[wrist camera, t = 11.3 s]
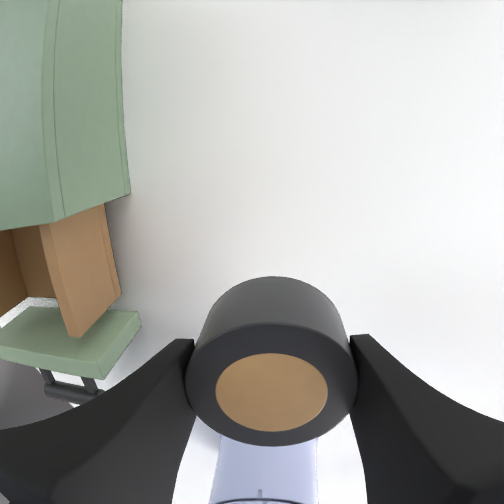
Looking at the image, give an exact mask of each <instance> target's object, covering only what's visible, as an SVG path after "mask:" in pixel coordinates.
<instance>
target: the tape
mask: <svg viewBox="0 0 504 504" xmlns="http://www.w3.org/2000/svg"><path fill="white" fill-rule="evenodd" d="M358 388H359V374H358V371H357V367H356V364H355V361H354V358H353V354H352V351H351V348H350V345H349V342H348V339H347V336H346V333H345V330H344V327H343V324H342V321H341V318H340V315H339V313H338V311H337V309H336V307H335V306H334V304H333V303H332V302H331V300H330V299H329V298H328V297H327V296H326V295H325V294H323V293H322V292H321V291H320V290H318V289H317V288H315V287H313V286H311V285H310V284H307V283H305V282H303V281H300V280H296V279H293V278H287V277H276V276H269V277H260V278H255V279H251V280H248V281H245V282H242V283H240V284H238V285H236V286H234V287H232V288H231V289H229V290H228V291H227V292H225V293H224V294H223V295H222V296H221V297H220V298H219V299H218V300H217V301H216V302H215V304H214V305H213V307H212V308H211V310H210V312H209V314H208V316H207V319H206V321H205V324H204V326H203V329H202V331H201V334H200V336H199V339H198V341H197V343H196V346H195V348H194V351H193V353H192V356H191V358H190V361H189V363H188V366H187V368H186V373H185V391H186V395H187V398H188V401H189V403H190V405H191V407H192V409H193V410H194V412H195V413H196V414H197V416H198V417H199V418H200V419H201V420H202V421H203V422H204V423H205V424H207V425H208V426H209V427H210V428H212V429H213V430H215V431H216V432H218V433H219V434H221V435H223V436H225V437H227V438H230V439H232V440H235V441H238V442H241V443H245V444H250V445H255V446H263V447H281V446H290V445H295V444H300V443H304V442H307V441H310V440H313V439H315V438H317V437H320V436H322V435H323V434H325V433H327V432H329V431H330V430H332V429H333V428H334V427H336V426H337V425H338V424H339V423H340V422H341V421H342V420H343V419H344V418H345V417H346V416H347V415H348V413H349V412H350V410H351V409H352V407H353V405H354V403H355V401H356V398H357V394H358Z"/></svg>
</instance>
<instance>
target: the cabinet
mask: <svg viewBox="0 0 504 504" xmlns="http://www.w3.org/2000/svg"><path fill="white" fill-rule="evenodd" d="M121 20H122V0H0V231H2V230H8V229H14V228H21V227H27V226H34V225H41V224H48V223H55V222H57V221H59V220H62V219H64V218H67V217H69V216H72V215H74V214H77V213H80V212H82V211H85V210H87V209H90V208H92V207H95V206H98V205H100V204H103V203H106V202H109V201H111V200H114V199H117V198H120V197H122V196H125V195H128V194H130V193H131V190H130V182H129V174H128V165H127V155H126V144H125V132H124V119H123V102H122V77H121Z"/></svg>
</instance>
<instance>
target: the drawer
mask: <svg viewBox="0 0 504 504" xmlns="http://www.w3.org/2000/svg"><path fill="white" fill-rule="evenodd" d="M121 294H122V293H121V289H120V285H119V281H118V276H117V272H116V267H115V262H114V257H113V252H112V247H111V242H110V237H109V231H108V225H107V219H106V213H105V207H104V203H103V204H100V205H98V206H95V207H92V208H90V209H87V210H85V211H82V212H80V213H77V214H74V215H72V216H69V217H67V218H64V219H62V220H59V221H57V222H55V223H48V224H41V225H34V226H27V227H21V228H14V229H8V230H2V231H0V317H2V316H3V315H4V314H6V313H7V312H8V311H10V310H11V309H12V308H14V307H15V306H16V305H18V304H19V303H21V302H22V301H23V300H25V299H26V298H27V297H44V298H57V301H58V305H59V308H47V307H32V306H30V307H28V308H27V309H26V310H24V311H23V312H22V313H21V314H19V315H18V316H17V317H15V318H14V319H13V320H12V321H10V322H9V323H8V324H7V325H5V326H4V327H3V328H2V329H0V358H1V359H5V360H8V361H12V362H16V363H20V364H24V365H28V366H32V367H37V368H39V370H40V372H41V374H42V376H43V378H44V380H45V382H46V383H45V386H44V390H45V394H46V395H47V396H48V397H51V398H54V399H58V400H62V401H67V402H70V403H74V404H79V405H82V404H84V403H86V402H88V401H90V400H92V399H93V398H95V397H97V396H99V395H101V394H102V393H104V392H105V391H104V390H102V389H98V388H97V385H96V383H95V381H94V379H100V380H104V379H105V378H106V376H107V375H108V373H109V372H110V370H111V369H112V368H113V366H114V365H115V363H116V362H117V360H118V359H119V357H120V356H121V355H122V353H123V352H124V350H125V349H126V348H127V346H128V345H129V343H130V342H131V340H132V339H133V338H134V336H135V335H136V333H137V332H138V331H139V329H140V328H141V323H140V319H139V315H138V312H137V311H108V310H107V309H108V308H109V307H110V306H111V305H112V304H113V303H114V302H115V301H116V299H118V298H119V297H120V296H121ZM51 371H55V372H60V373H65V374H70V375H76V376H80V377H81V379H82V381H83V383H84V386H80V385H74V384H70V383H65V382H60V381H56V380H55V379H54V377H53V375H52V373H51Z"/></svg>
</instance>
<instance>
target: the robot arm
mask: <svg viewBox="0 0 504 504" xmlns="http://www.w3.org/2000/svg"><path fill="white" fill-rule="evenodd" d="M349 345H350V348H351V351H352V354H353V358H354V361H355V364H356V367H357V371H358V374H359V388H358V394H357V398H356V401H355V403H354V405H353V407H352V409H351V410H350V412H349V414H350V418H351V421H352V425H353V429H354V433H355V436H356V440H357V444H358V448H359V451H360V455H361V459H362V463H363V468H364V474H365V482H366V491H367V502H368V504H504V422H502V421H499V420H496V419H493V418H490V417H488V416H485V415H483V414H480V413H478V412H476V411H474V410H472V409H470V408H467V407H465V406H463V405H461V404H459V403H457V402H456V401H454V400H452V399H450V398H449V397H447V396H445V395H444V394H442V393H440V392H439V391H437V390H436V389H434V388H433V387H431V386H430V385H428V384H427V383H426V382H424V381H423V380H422V379H420V378H419V377H417V376H416V375H415V374H414V373H412V372H411V371H410V370H409V369H407V368H406V367H405V366H404V365H403V364H401V363H400V362H399V361H398V360H397V359H396V358H394V357H393V356H392V355H391V354H390V353H389V352H388V351H387V350H386V349H384V348H383V347H382V346H381V345H380V344H379V343H378V342H377V341H376V340H375V339H374V338H372V337H371V336H370V335H369V334H362V335H350V342H349ZM194 348H195V344H194V339H175V340H173V341H172V342H171V343H170V344H168V345H167V346H166V347H165V348H163V349H162V350H161V351H160V352H159V353H157V354H156V355H155V356H154V357H152V358H151V359H150V360H149V361H147V362H146V363H145V364H144V365H142V366H141V367H140V368H139V369H137V370H136V371H135V372H133V373H132V374H131V375H129V376H128V377H126V378H125V379H124V380H122V381H121V382H119V383H118V384H117V385H115V386H114V387H112V388H111V389H109V390H107V391H106V392H104V393H102V394H101V395H99V396H97V397H95V398H93V399H92V400H90V401H88V402H86V403H84V404H82V405H80V406H77V407H75V408H73V409H71V410H69V411H66V412H64V413H62V414H59V415H56V416H54V417H51V418H48V419H45V420H42V421H38V422H35V423H32V424H28V425H23V426H18V427H13V428H8V429H3V430H0V492H1V493H2V494H3V495H4V496H5V497H6V498H7V499H8V500H9V501H10V503H9V504H172V498H173V493H174V488H175V483H176V478H177V473H178V470H179V466H180V463H181V460H182V457H183V454H184V451H185V448H186V445H187V442H188V439H189V436H190V433H191V431H192V428H193V425H194V422H195V419H196V416H197V414H196V413H195V412H194V410H193V409H192V407H191V405H190V403H189V401H188V398H187V395H186V391H185V373H186V368H187V366H188V363H189V361H190V358H191V356H192V353H193V351H194ZM220 435H221V434H220ZM317 439H318V437H317V438H315V439H313V440H310V441H307V442H304V443H300V444H295V445H290V446H281V447H263V446H255V445H250V444H245V443H241V442H238V441H235V440H232V439H230V438H227V437H225V436H223V435H221V440H222V441H221V446H220V451H219V455H218V460H217V465H216V470H215V475H214V480H213V485H212V490H211V495H210V500H209V504H318V488H317V472H316V458H315V457H316V448H317Z"/></svg>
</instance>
